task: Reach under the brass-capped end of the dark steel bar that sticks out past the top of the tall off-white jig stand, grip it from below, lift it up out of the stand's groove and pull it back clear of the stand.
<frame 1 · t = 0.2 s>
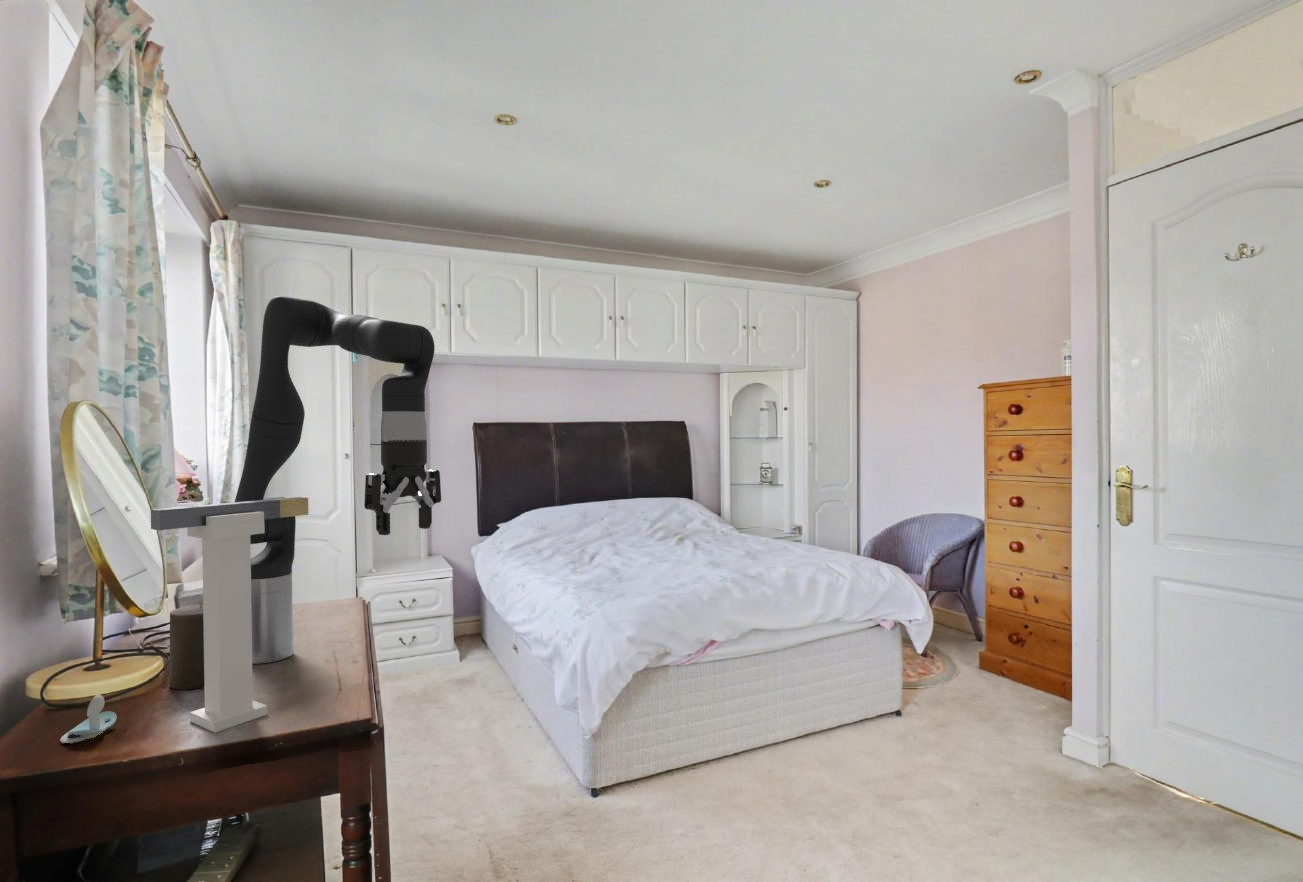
hand: (404, 531, 118), 29 cm above the table, tool pointing down, fingers open, 8 cm apart
pacifier: (87, 737, 105), on the table
pillar candle: (201, 681, 128), on the table
jig stand: (229, 718, 111), on the table
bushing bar: (235, 521, 112), point 32 cm above the table, touching jig stand
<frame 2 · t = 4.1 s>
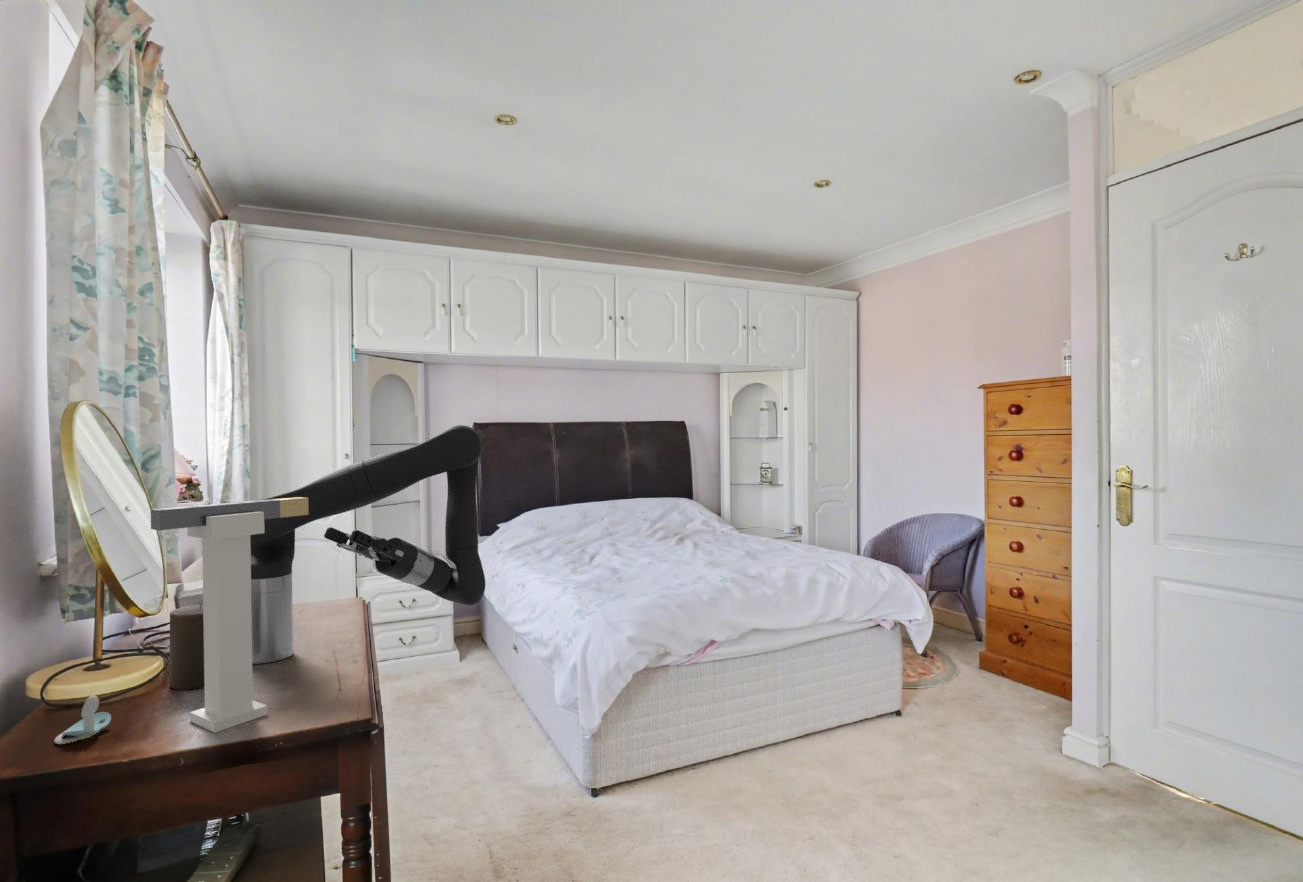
hand: (339, 533, 127), 28 cm above the table, tool pointing upward, fingers open, 8 cm apart
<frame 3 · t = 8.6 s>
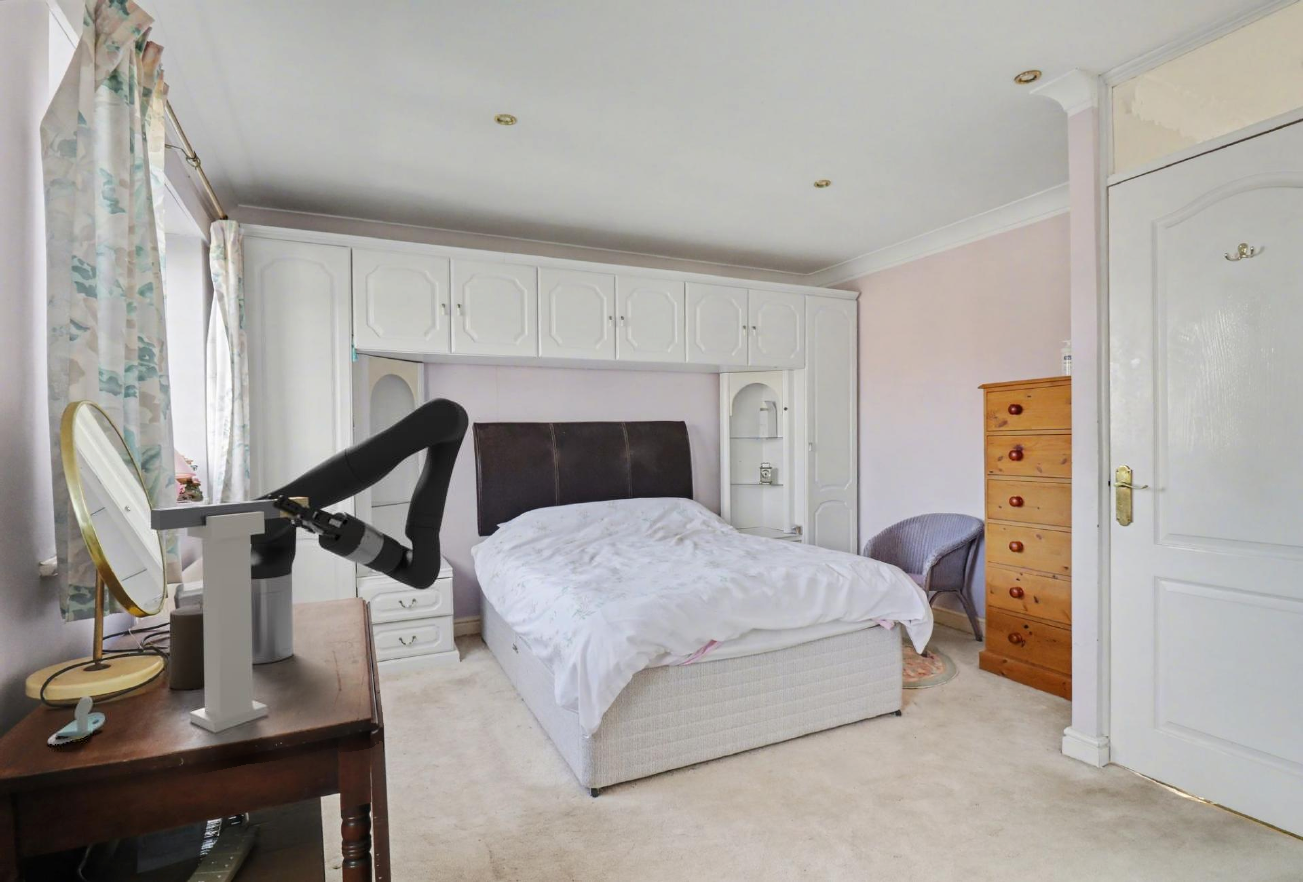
hand: (272, 500, 117), 35 cm above the table, tool pointing upward, fingers closed on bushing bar, 3 cm apart
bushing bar: (235, 521, 112), point 32 cm above the table, touching gripper, jig stand
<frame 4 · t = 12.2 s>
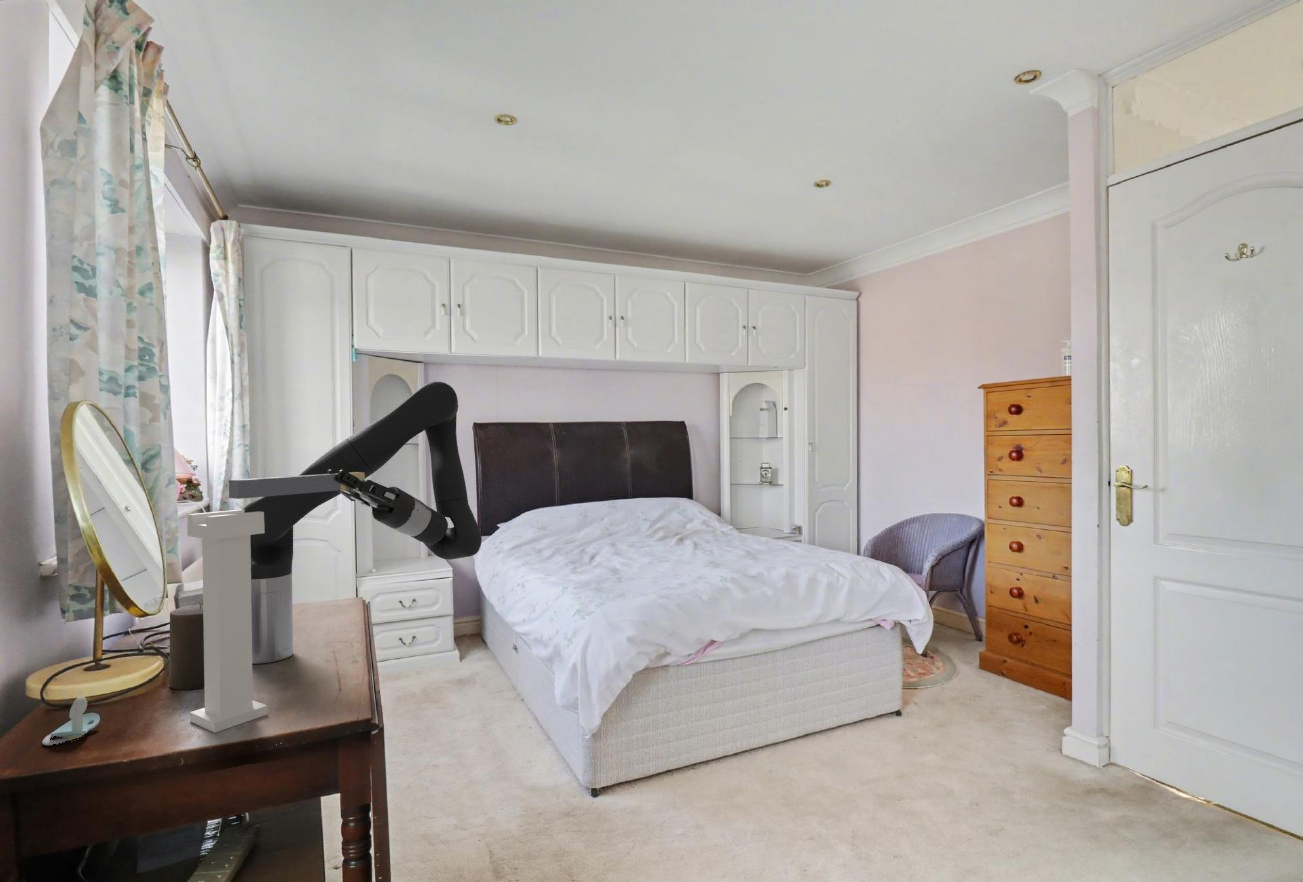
hand: (333, 474, 126), 39 cm above the table, tool pointing upward, fingers closed on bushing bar, 3 cm apart
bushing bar: (301, 492, 121), point 36 cm above the table, touching gripper
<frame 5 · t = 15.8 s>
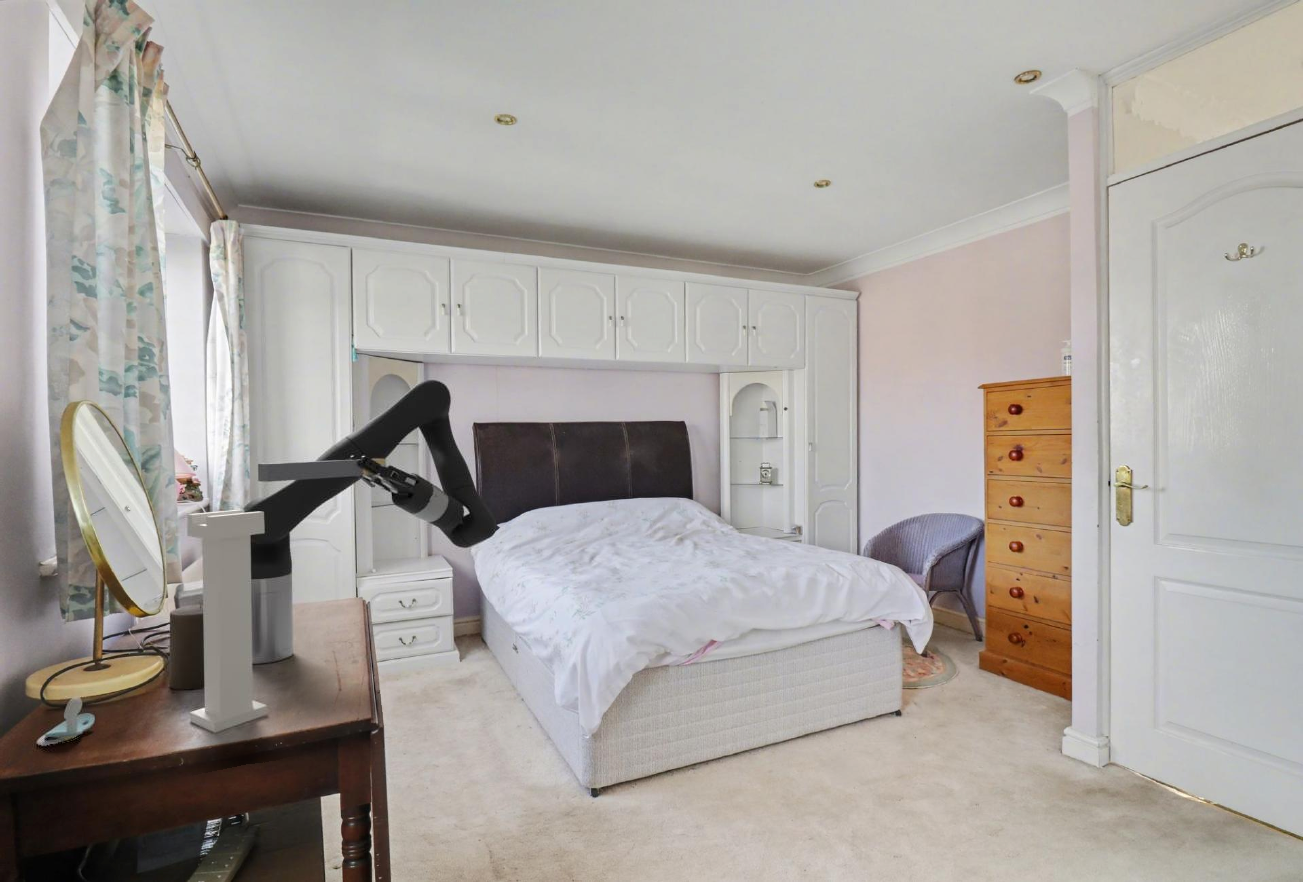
hand: (356, 460, 130), 41 cm above the table, tool pointing upward, fingers closed on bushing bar, 3 cm apart
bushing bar: (326, 477, 125), point 38 cm above the table, touching gripper
at the end: the gripper is holding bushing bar; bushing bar touching gripper; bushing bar point 38.3 cm above the table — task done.
